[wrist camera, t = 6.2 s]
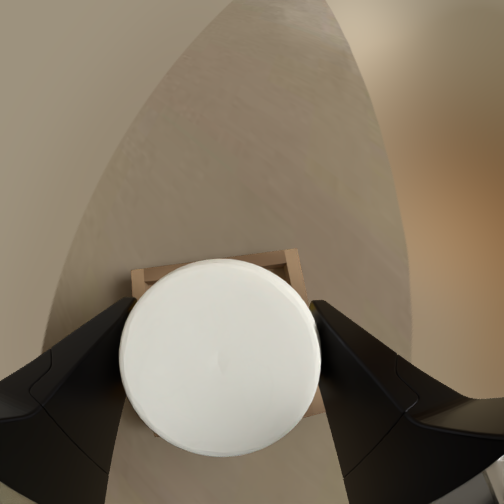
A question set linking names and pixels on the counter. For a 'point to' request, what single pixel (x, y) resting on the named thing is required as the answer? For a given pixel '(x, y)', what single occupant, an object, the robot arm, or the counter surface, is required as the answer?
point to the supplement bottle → (220, 357)
